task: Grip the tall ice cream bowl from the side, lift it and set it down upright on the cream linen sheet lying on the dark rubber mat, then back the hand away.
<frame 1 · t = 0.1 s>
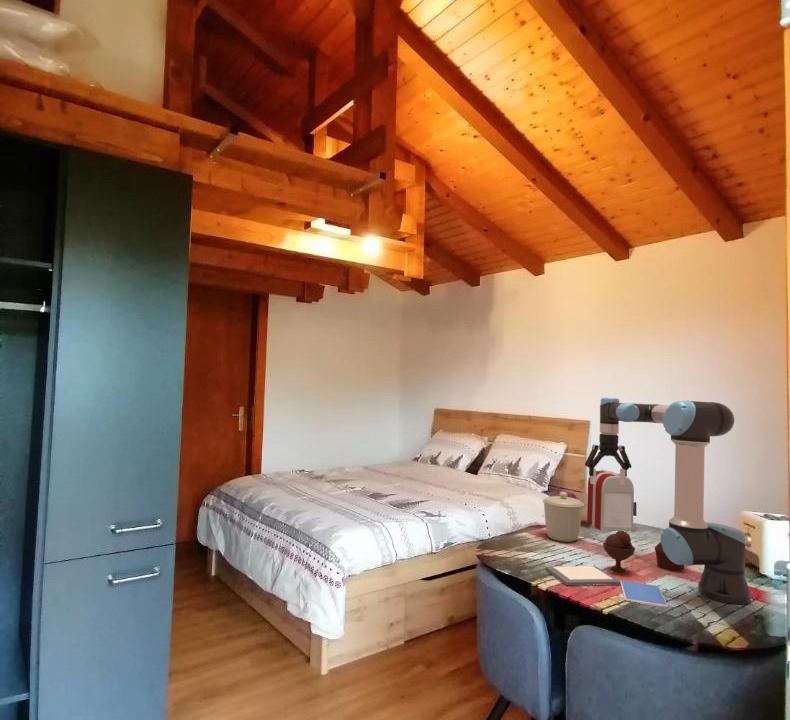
hand: (607, 484, 229), 28 cm above the table, tool pointing down, fingers open, 13 cm apart
muffin: (670, 568, 209), on the table
tablet computer: (642, 596, 180), on the table
ice cream bowl: (618, 571, 202), on the table
mat: (581, 577, 193), on the table
canister: (562, 539, 243), on the table
striped arched panel rack: (609, 527, 270), on the table
sheet: (581, 573, 193), on the mat, point 1 cm above the table
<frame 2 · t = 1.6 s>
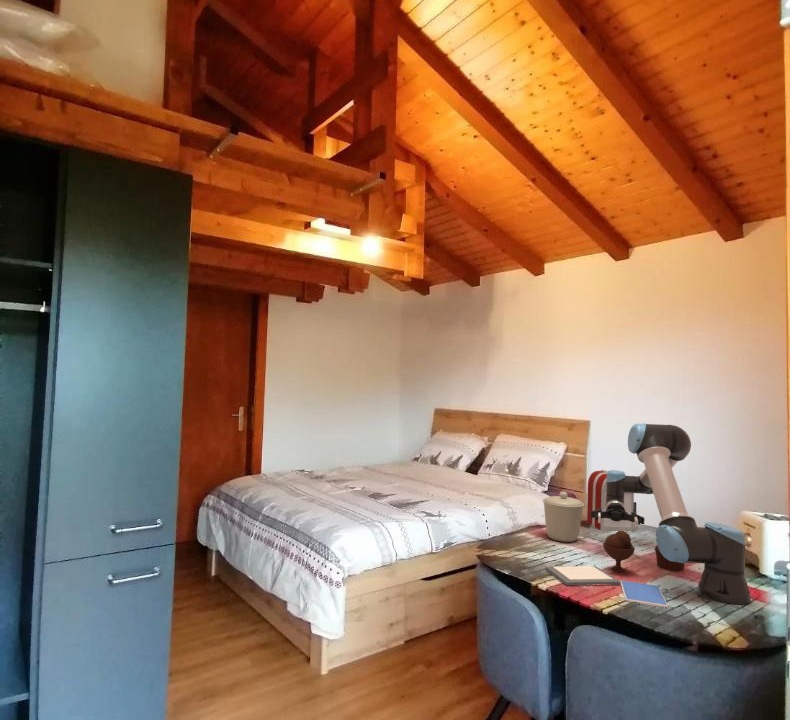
hand: (617, 521, 212), 16 cm above the table, tool horizontal, fingers open, 13 cm apart
nothing on the table moved.
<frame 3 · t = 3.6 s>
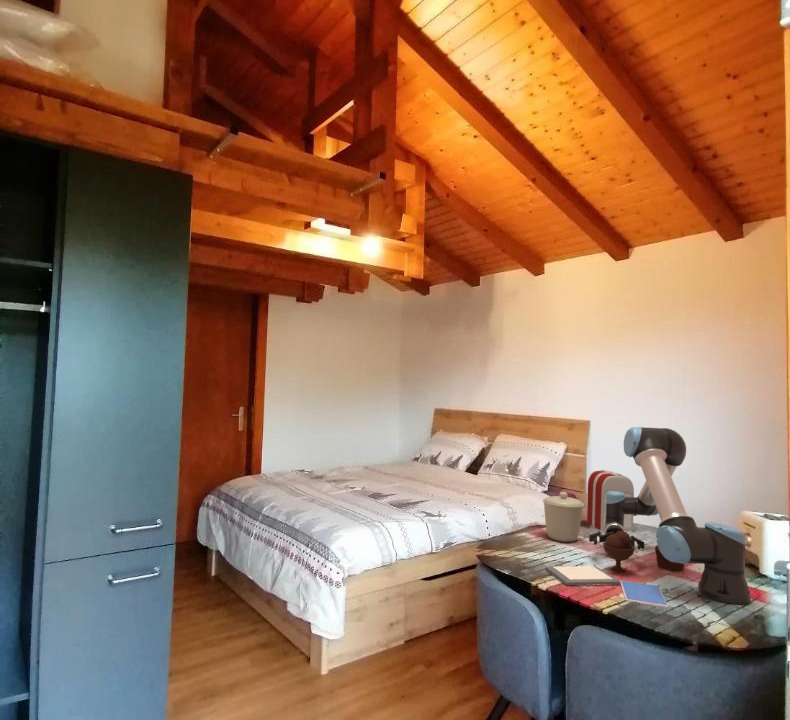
hand: (617, 546, 206), 8 cm above the table, tool horizontal, fingers open, 13 cm apart
nothing on the table moved.
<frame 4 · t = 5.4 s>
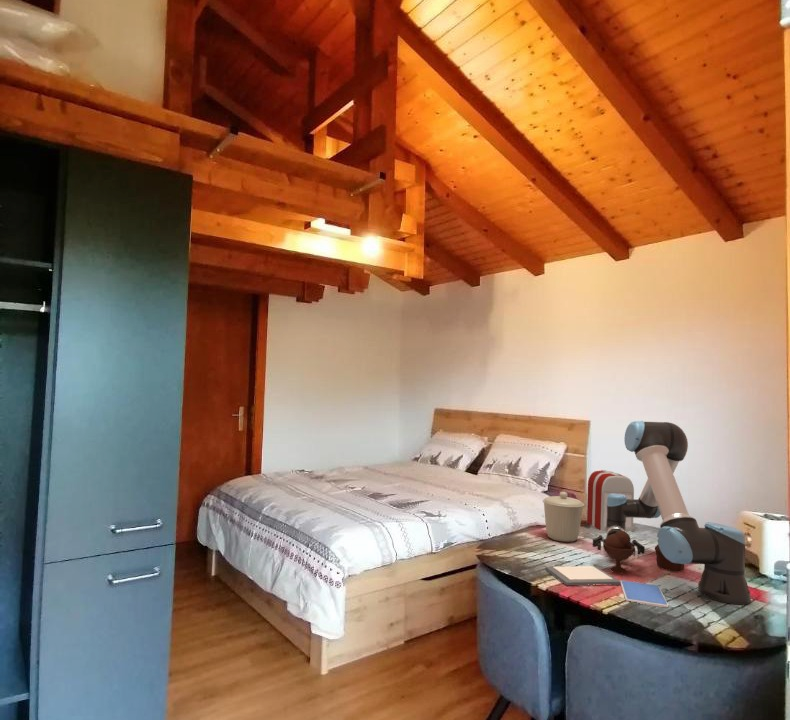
hand: (619, 552, 199), 8 cm above the table, tool horizontal, fingers closed on ice cream bowl, 11 cm apart
ice cream bowl: (618, 571, 202), on the table, touching gripper
everything else where it was.
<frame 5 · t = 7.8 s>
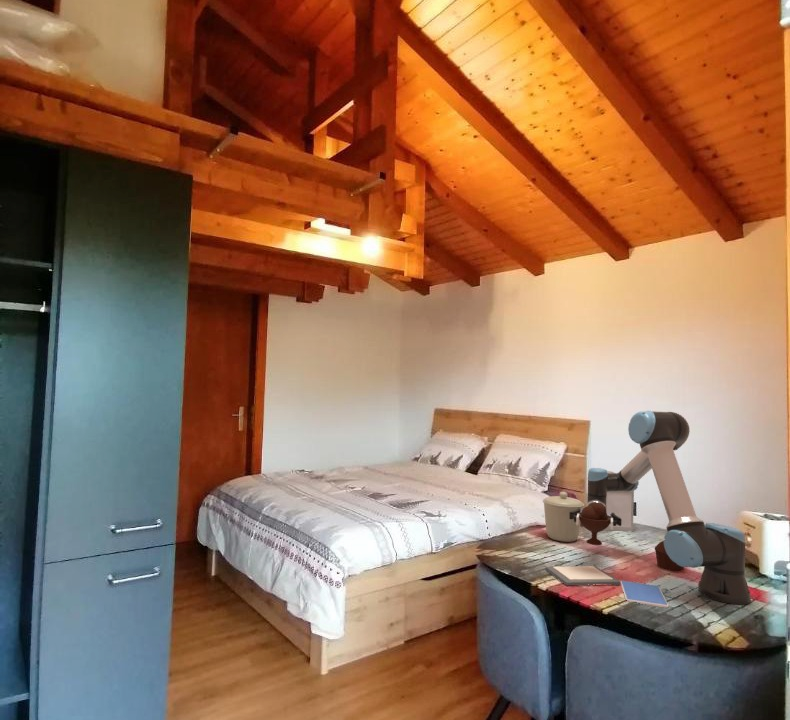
hand: (594, 523, 195), 19 cm above the table, tool horizontal, fingers closed on ice cream bowl, 11 cm apart
ice cream bowl: (594, 543, 199), point 11 cm above the table, touching gripper
everything else where it was.
when the fingers open (11 cm above the table, at t = 10.4 s): ice cream bowl drops 1 cm, resting on sheet.
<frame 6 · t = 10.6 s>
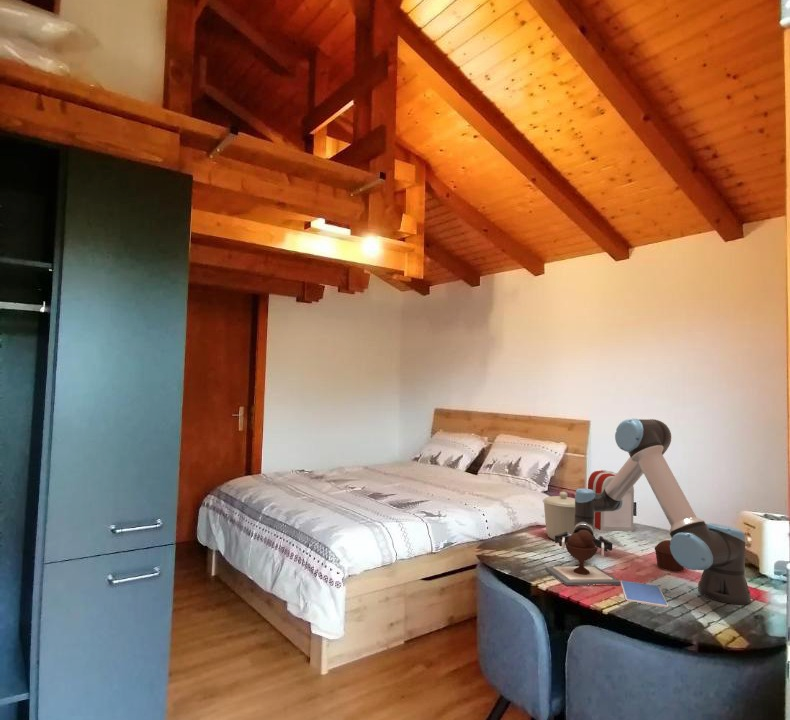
hand: (582, 548, 191), 11 cm above the table, tool horizontal, fingers open, 13 cm apart
ice cream bowl: (581, 572, 193), point 2 cm above the table, touching sheet
everything else where it was.
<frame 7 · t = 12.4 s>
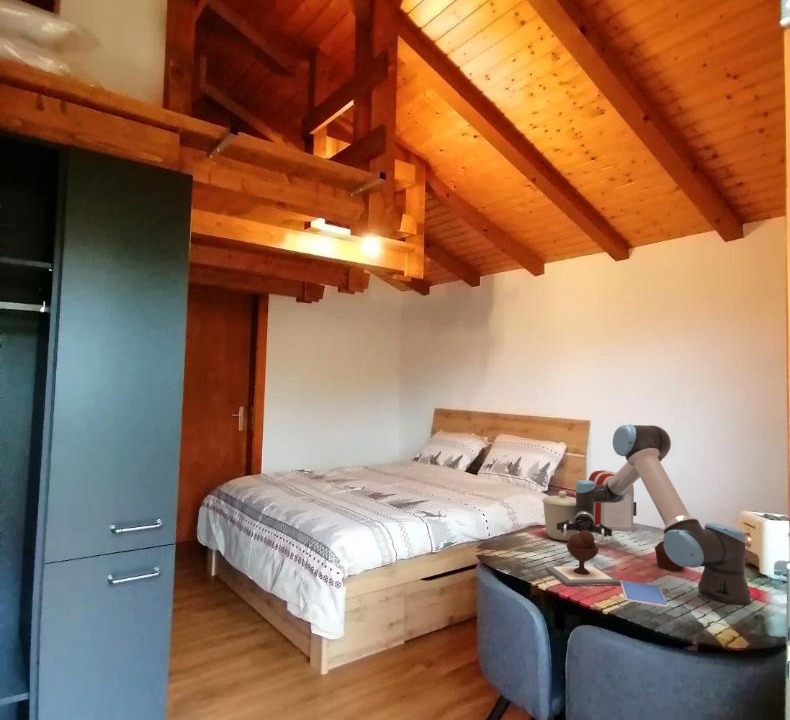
hand: (583, 534, 203), 13 cm above the table, tool horizontal, fingers open, 13 cm apart
canister: (562, 538, 244), on the table, touching arm
everything else where it was.
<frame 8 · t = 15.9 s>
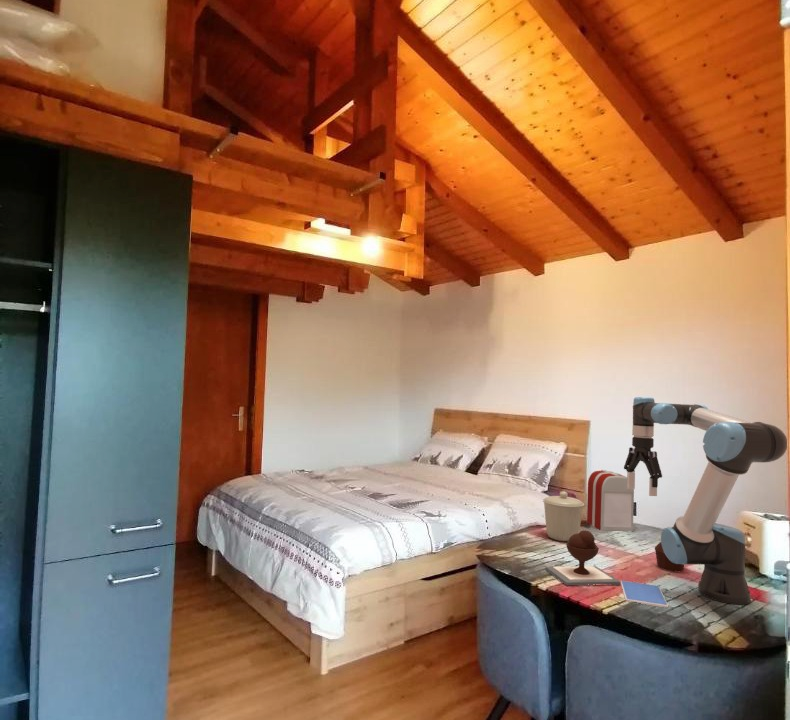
hand: (641, 492, 208), 29 cm above the table, tool pointing down, fingers open, 13 cm apart
canister: (562, 539, 244), on the table
everything else where it was.
at the end: ice cream bowl inside the target area on the mat (0.2 cm from its centre), point 1.5 cm above the mat's base; ice cream bowl tilted 0°; the gripper is holding nothing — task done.
